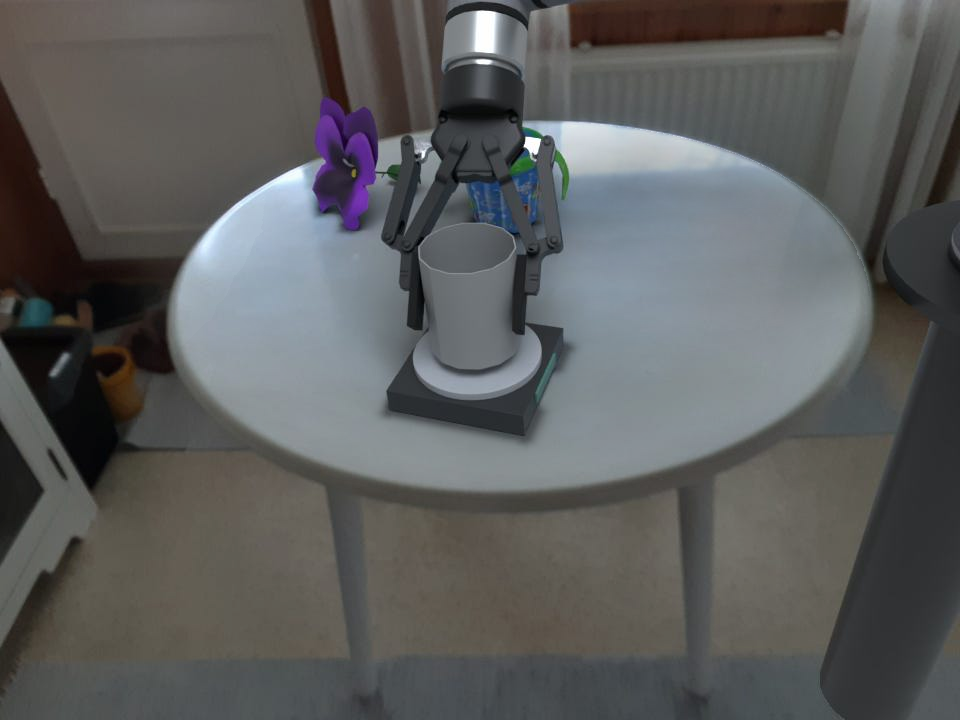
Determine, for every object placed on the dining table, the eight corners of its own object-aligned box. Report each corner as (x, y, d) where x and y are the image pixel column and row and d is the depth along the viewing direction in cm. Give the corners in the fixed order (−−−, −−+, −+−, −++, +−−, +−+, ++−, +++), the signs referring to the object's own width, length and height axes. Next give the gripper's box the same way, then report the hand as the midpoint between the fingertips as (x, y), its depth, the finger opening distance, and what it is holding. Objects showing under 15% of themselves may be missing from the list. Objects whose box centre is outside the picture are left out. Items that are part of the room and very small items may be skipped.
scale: (565, 347, 83) (565, 321, 81) (526, 436, 74) (524, 409, 72) (441, 328, 87) (438, 303, 85) (389, 410, 78) (384, 383, 76)
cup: (504, 306, 82) (498, 214, 75) (534, 355, 75) (530, 259, 69) (420, 327, 80) (407, 235, 74) (444, 378, 74) (431, 283, 68)
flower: (373, 209, 119) (289, 199, 110) (402, 103, 114) (316, 83, 105) (434, 247, 110) (347, 239, 100) (468, 134, 105) (380, 114, 95)
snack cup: (430, 236, 102) (420, 157, 96) (461, 195, 110) (453, 120, 103) (555, 250, 97) (553, 169, 91) (578, 207, 105) (578, 129, 99)
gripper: (604, 94, 77) (591, 341, 75) (380, 96, 81) (361, 331, 79) (602, 57, 70) (587, 329, 67) (355, 61, 73) (334, 319, 71)
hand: (466, 330), depth 73 cm, fingers closed on cup, 8 cm apart
